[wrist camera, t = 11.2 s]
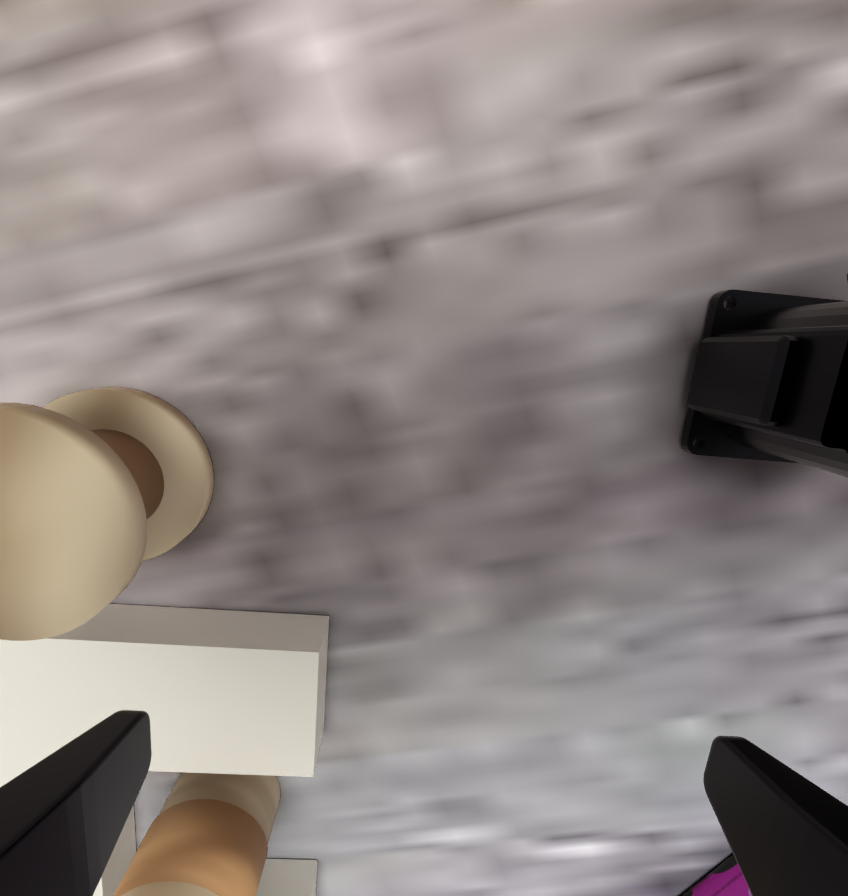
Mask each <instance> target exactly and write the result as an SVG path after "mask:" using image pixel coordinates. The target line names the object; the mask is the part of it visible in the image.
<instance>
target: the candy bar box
mask: <svg viewBox="0 0 848 896" xmlns="http://www.w3.org/2000/svg"><path fill="white" fill-rule="evenodd" d="M683 896H752V894H751V892H750V890H749V888H748V885H747V883H746V881H745V879H744V876H743V874H742V872H741V870H740V867H739V865H738V863H737V861H736V859H735V856H734V854H733V855H732V856H731V857H730V858H728V859H727V860H726V861H724V862H723V863H722V864H721V865H720V866H719V867H717V868H716V869H715V870H714V871H712V872H711V873H710V874H708V875H707V876H706V877H705V878H704V879H702V880H701V881H700V882H699V883H697V884H696V885H695V886H694V887H693V888H691V889H690V890H689V891H688V892H686V893H685V894H684V895H683Z"/></svg>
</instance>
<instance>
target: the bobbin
mask: <svg viewBox="0 0 848 896" xmlns="http://www.w3.org/2000/svg"><path fill="white" fill-rule="evenodd" d="M213 486H214V475H213V466H212V462H211V457H210V455H209V452H208V449H207V447H206V445H205V443H204V441H203V439H202V437H201V435H200V434H199V433H198V431H197V430H196V428H195V427H194V426H193V424H192V423H191V422H190V421H189V420H188V419H187V418H186V417H185V416H184V415H183V414H182V413H181V412H180V411H179V410H177V409H176V408H174V407H173V406H172V405H170V404H169V403H167V402H165V401H164V400H162V399H160V398H158V397H156V396H154V395H151V394H149V393H146V392H143V391H139V390H135V389H130V388H123V387H107V388H98V389H91V390H84V391H78V392H74V393H70V394H67V395H65V396H62V397H60V398H58V399H56V400H54V401H52V402H51V403H49V404H47V405H46V406H45V407H44V408H42V407H38V406H34V405H28V404H20V403H0V639H1V640H10V641H30V640H38V639H45V638H49V637H54V636H58V635H61V634H63V633H66V632H68V631H71V630H73V629H75V628H77V627H79V626H81V625H83V624H84V623H86V622H87V621H89V620H90V619H91V618H93V617H94V616H95V615H97V614H98V613H99V612H100V611H101V610H102V609H104V608H105V607H106V606H107V605H108V604H109V603H110V602H112V601H113V600H114V599H115V598H116V597H117V596H118V595H119V594H120V593H121V592H122V591H123V590H124V589H125V588H126V587H127V586H128V585H129V583H130V582H131V581H132V579H133V578H134V576H135V574H136V573H137V571H138V569H139V567H140V565H141V562H142V561H144V560H148V559H151V558H154V557H157V556H159V555H161V554H163V553H165V552H167V551H169V550H170V549H172V548H173V547H174V546H176V545H177V544H178V543H179V542H181V541H182V540H183V539H184V538H185V537H186V536H187V535H189V534H190V533H191V532H192V531H193V530H194V529H195V528H196V527H197V526H198V524H199V523H200V522H201V520H202V519H203V517H204V515H205V514H206V512H207V510H208V507H209V505H210V502H211V498H212V493H213Z"/></svg>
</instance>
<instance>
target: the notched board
mask: <svg viewBox="0 0 848 896" xmlns="http://www.w3.org/2000/svg"><path fill="white" fill-rule="evenodd" d="M328 633H329V616H321V615H303V614H285V613H267V612H250V611H232V610H214V609H196V608H178V607H160V606H143V605H125V604H108V605H107V606H106V607H105V608H104V609H102V610H101V611H100V612H99V613H98V614H97V615H95V616H94V617H93V618H91V619H90V620H89V621H87V622H86V623H84V624H83V625H81V626H79V627H77V628H75V629H73V630H71V631H68V632H66V633H63V634H61V635H58V636H54V637H49V638H45V639H38V640H30V641H10V640H1V639H0V787H1V786H3V785H4V784H6V783H8V782H9V781H11V780H12V779H14V778H15V777H17V776H18V775H20V774H21V773H23V772H24V771H26V770H27V769H29V768H31V767H32V766H34V765H35V764H37V763H38V762H40V761H41V760H43V759H44V758H46V757H47V756H49V755H50V754H52V753H54V752H55V751H57V750H58V749H60V748H61V747H63V746H64V745H66V744H67V743H69V742H70V741H72V740H73V739H75V738H77V737H78V736H80V735H81V734H83V733H84V732H86V731H87V730H89V729H90V728H92V727H93V726H95V725H96V724H98V723H100V722H101V721H103V720H104V719H106V718H107V717H109V716H110V715H112V714H114V713H115V712H117V711H120V710H136V711H145V712H147V713H148V715H149V718H150V731H151V752H152V755H151V763H150V767H149V770H148V771H159V772H187V773H215V774H242V775H270V776H298V777H314V773H315V768H316V763H317V759H318V754H319V749H320V745H321V740H322V735H323V730H324V716H325V695H326V675H327V654H328ZM135 854H136V837H135V820H134V805H133V807H132V809H131V811H130V814H129V816H128V818H127V820H126V823H125V825H124V827H123V829H122V832H121V834H120V836H119V839H118V841H117V843H116V845H115V848H114V850H113V852H112V854H111V857H110V859H109V861H108V863H107V866H106V868H105V870H104V872H103V875H102V877H101V879H100V881H99V883H98V885H97V888H96V890H95V892H94V894H93V896H113V895H114V893H115V891H116V889H117V887H118V885H119V883H120V882H121V880H122V878H123V876H124V874H125V872H126V870H127V869H128V867H129V865H130V863H131V861H132V859H133V857H134V855H135ZM316 880H317V860H296V859H266V861H265V864H264V868H263V871H262V875H261V879H260V882H259V886H258V890H257V893H256V896H316Z"/></svg>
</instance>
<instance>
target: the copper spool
mask: <svg viewBox="0 0 848 896" xmlns="http://www.w3.org/2000/svg"><path fill="white" fill-rule="evenodd" d="M280 796H281V792H280V785H279V782H278V779H277V777H276V776H270V775H242V774H215V773H187V772H181V774H180V776H179V778H178V780H177V782H176V783H175V785H174V787H173V789H172V791H171V793H170V795H169V797H168V799H167V800H166V802H165V804H164V806H163V808H162V810H161V812H160V814H159V815H158V816H157V817H156V819H155V820H154V821H153V822H152V824H151V826H150V827H149V829H148V831H147V833H146V835H145V837H144V839H143V841H142V842H141V844H140V846H139V848H138V850H137V852H136V854H135V855H134V857H133V859H132V861H131V863H130V865H129V867H128V869H127V870H126V872H125V874H124V876H123V878H122V880H121V882H120V883H119V885H118V887H117V889H116V891H115V893H114V895H113V896H256V893H257V890H258V886H259V882H260V879H261V875H262V871H263V868H264V864H265V861H266V857H267V850H268V847H267V845H268V841H269V838H270V834H271V831H272V827H273V823H274V820H275V816H276V813H277V809H278V806H279V802H280Z"/></svg>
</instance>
